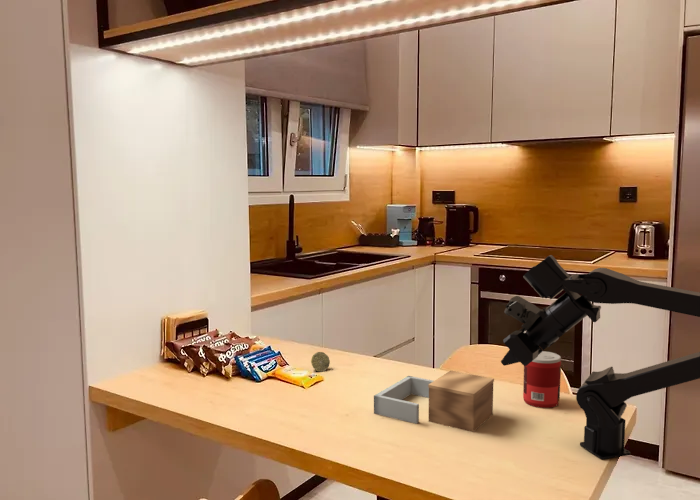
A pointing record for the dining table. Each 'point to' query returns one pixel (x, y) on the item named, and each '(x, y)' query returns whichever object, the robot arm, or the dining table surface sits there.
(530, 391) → the canned food
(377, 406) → the bay
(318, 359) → the olive speckled ball
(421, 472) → the dining table surface
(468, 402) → the tea box
